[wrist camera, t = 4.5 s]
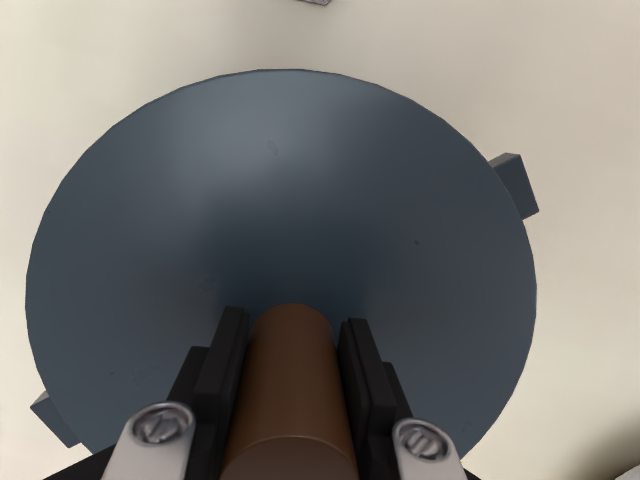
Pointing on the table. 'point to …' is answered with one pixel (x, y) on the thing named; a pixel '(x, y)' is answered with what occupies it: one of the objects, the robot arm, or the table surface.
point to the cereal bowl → (631, 474)
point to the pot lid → (281, 266)
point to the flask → (319, 1)
